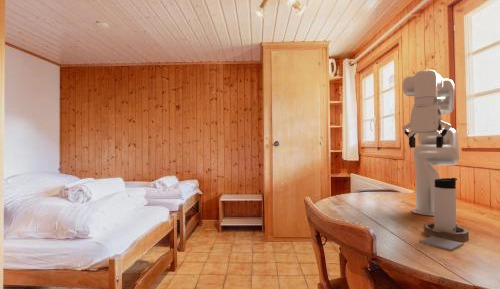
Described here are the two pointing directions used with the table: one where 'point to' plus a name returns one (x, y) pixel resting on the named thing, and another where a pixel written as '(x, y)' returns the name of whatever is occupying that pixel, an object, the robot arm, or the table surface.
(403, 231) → the table surface
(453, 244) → the mat
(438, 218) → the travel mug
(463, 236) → the collar
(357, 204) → the table surface
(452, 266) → the table surface
